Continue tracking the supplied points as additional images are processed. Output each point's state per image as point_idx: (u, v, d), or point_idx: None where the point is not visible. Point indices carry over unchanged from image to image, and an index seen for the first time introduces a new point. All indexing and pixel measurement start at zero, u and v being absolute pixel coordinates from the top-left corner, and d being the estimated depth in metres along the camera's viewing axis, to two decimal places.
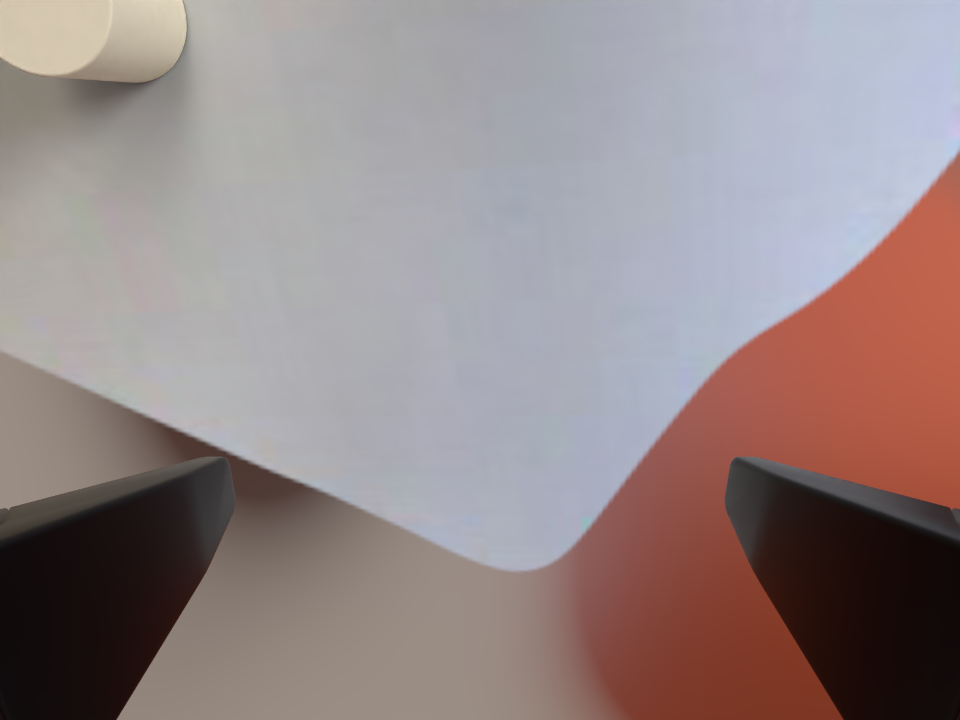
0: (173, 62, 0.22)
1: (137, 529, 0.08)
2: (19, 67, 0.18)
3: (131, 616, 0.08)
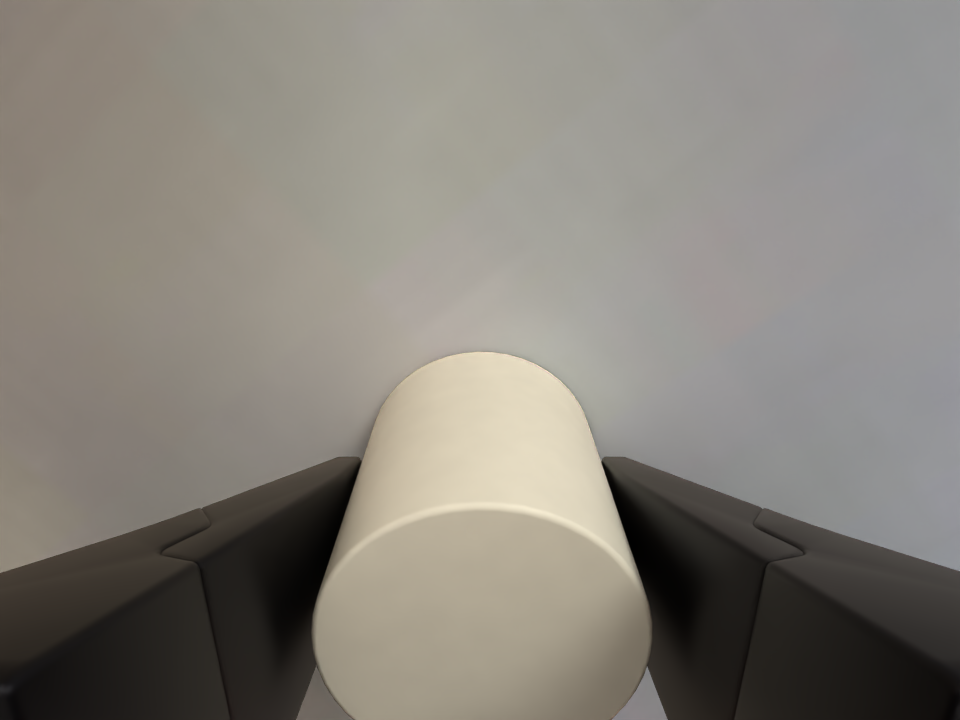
0: None
1: (312, 529, 0.08)
2: None
3: (306, 616, 0.08)
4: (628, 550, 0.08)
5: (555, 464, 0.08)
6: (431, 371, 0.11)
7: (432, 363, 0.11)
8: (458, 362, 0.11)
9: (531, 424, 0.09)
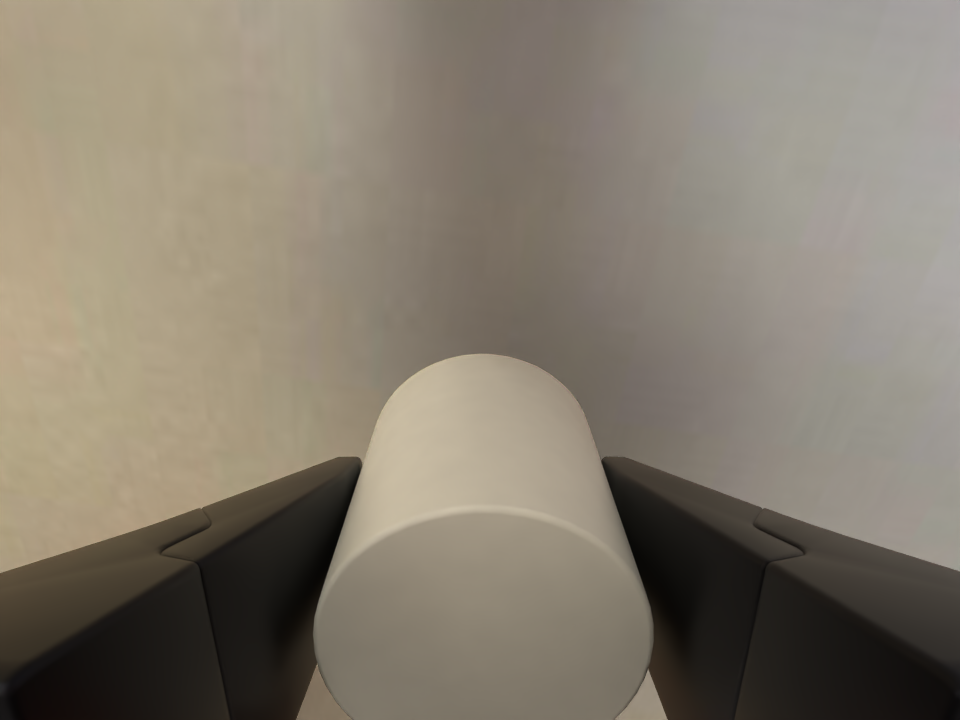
0: None
1: (312, 529, 0.08)
2: None
3: (306, 616, 0.08)
4: (629, 552, 0.08)
5: (556, 466, 0.08)
6: (432, 373, 0.11)
7: (433, 365, 0.11)
8: (459, 364, 0.11)
9: (533, 427, 0.09)
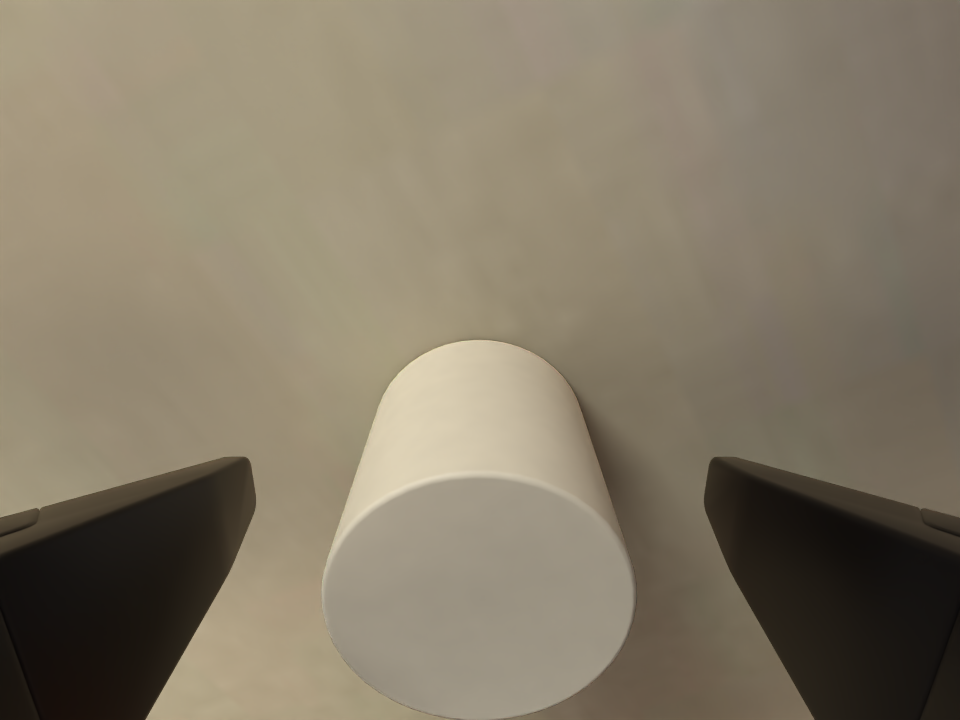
0: None
1: (165, 529, 0.08)
2: (499, 718, 0.09)
3: (159, 616, 0.08)
4: (614, 518, 0.09)
5: (546, 439, 0.09)
6: (431, 357, 0.12)
7: (433, 351, 0.12)
8: (457, 349, 0.12)
9: (525, 405, 0.10)
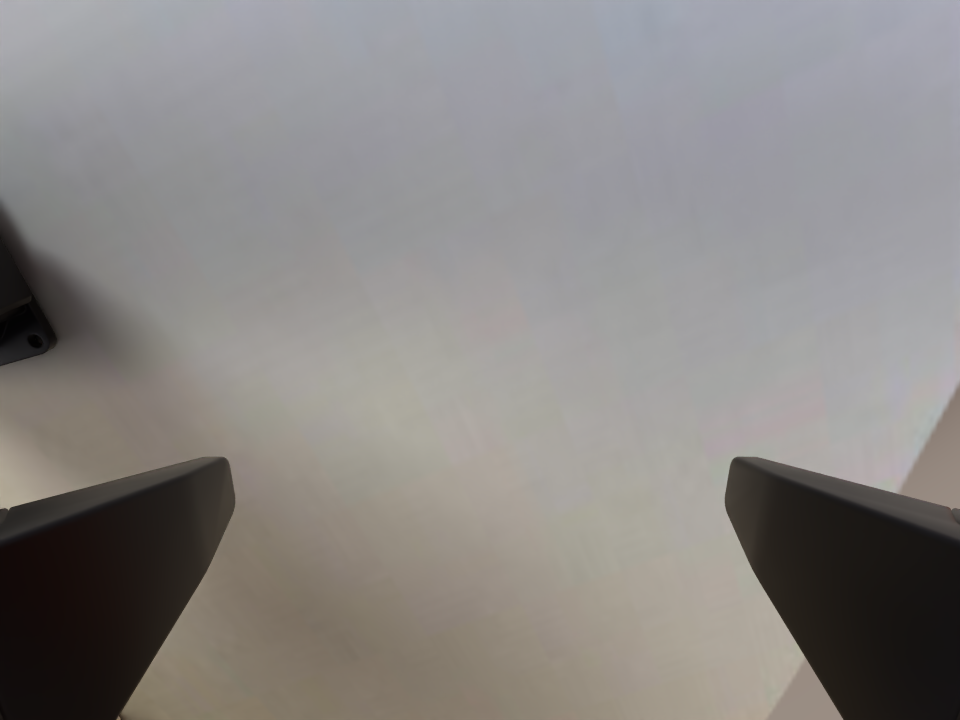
0: None
1: (137, 529, 0.08)
2: None
3: (131, 616, 0.08)
4: None
5: None
6: None
7: None
8: None
9: None
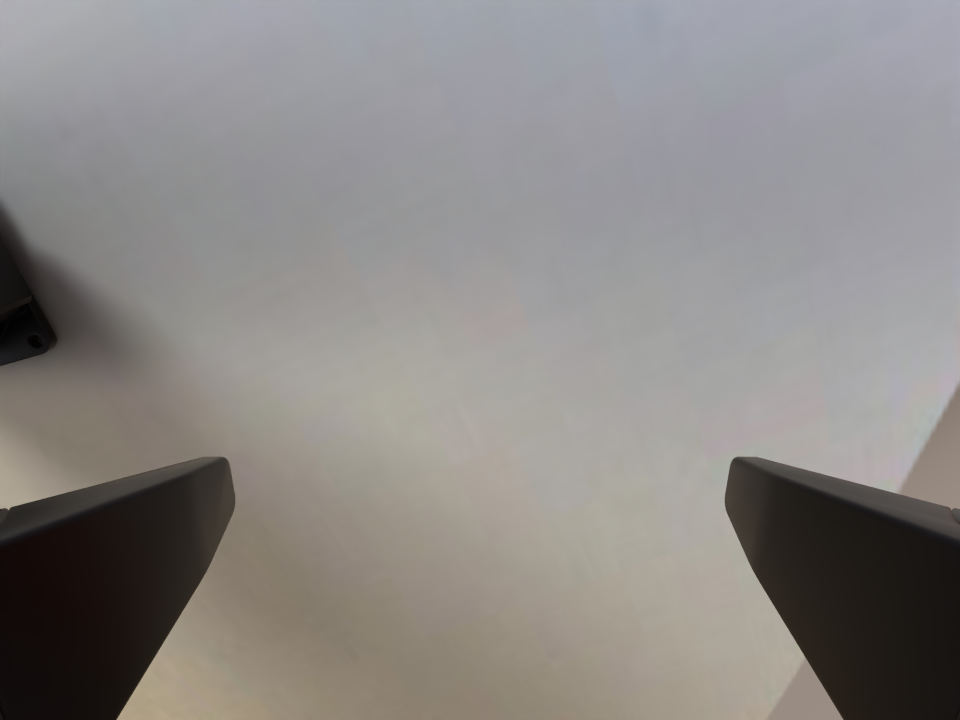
0: None
1: (137, 529, 0.08)
2: None
3: (131, 616, 0.08)
4: None
5: None
6: None
7: None
8: None
9: None
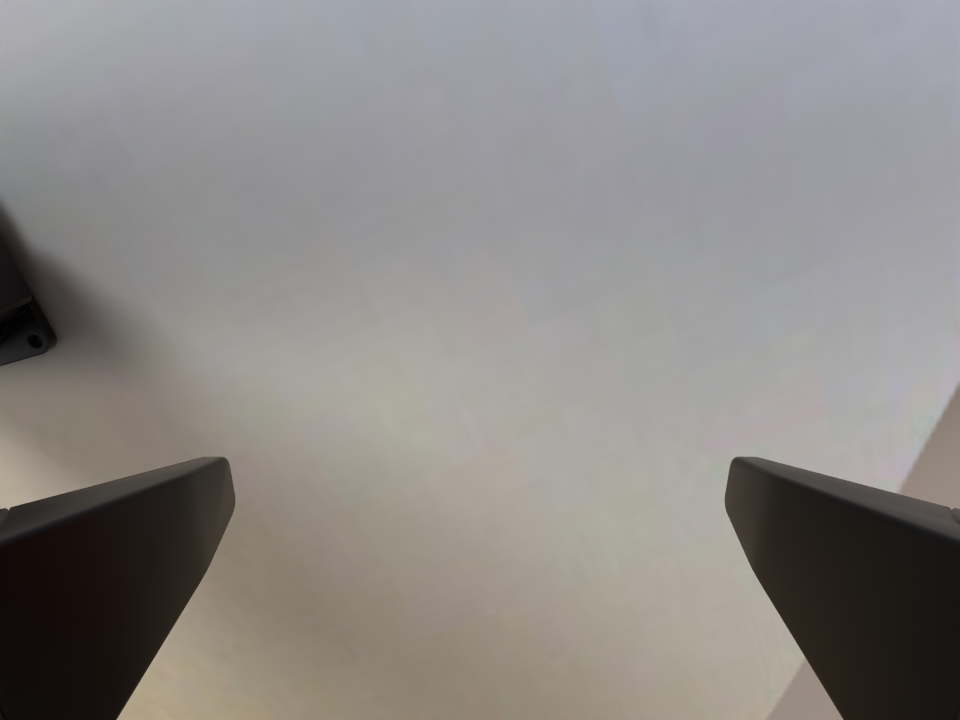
0: None
1: (137, 529, 0.08)
2: None
3: (131, 616, 0.08)
4: None
5: None
6: None
7: None
8: None
9: None
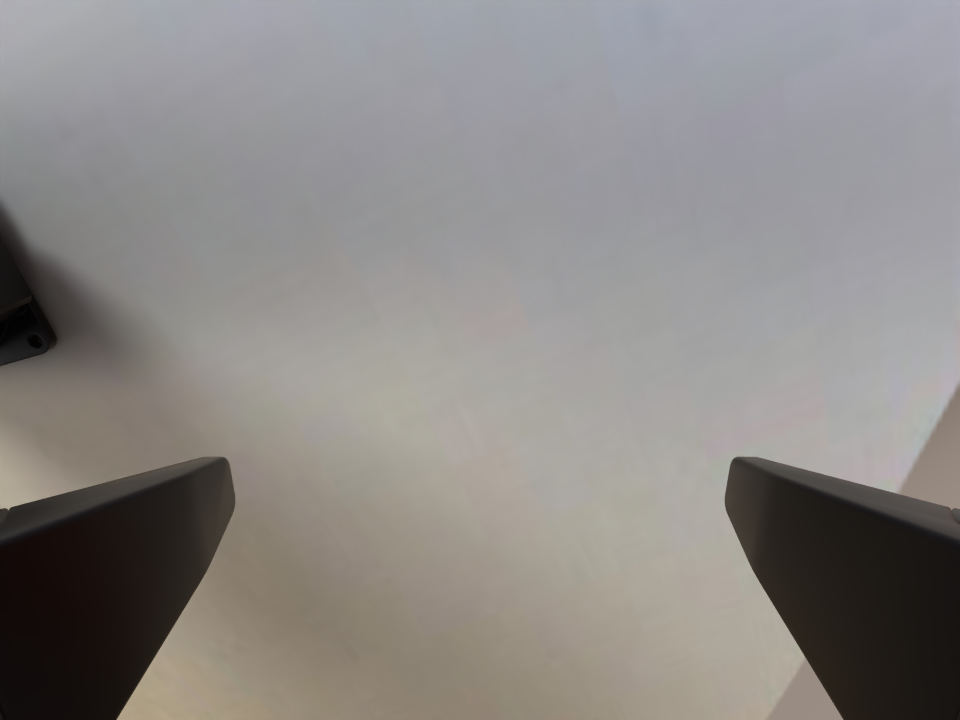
0: None
1: (137, 529, 0.08)
2: None
3: (131, 616, 0.08)
4: None
5: None
6: None
7: None
8: None
9: None
